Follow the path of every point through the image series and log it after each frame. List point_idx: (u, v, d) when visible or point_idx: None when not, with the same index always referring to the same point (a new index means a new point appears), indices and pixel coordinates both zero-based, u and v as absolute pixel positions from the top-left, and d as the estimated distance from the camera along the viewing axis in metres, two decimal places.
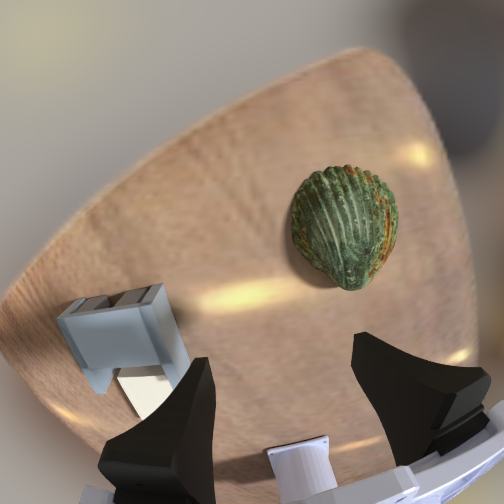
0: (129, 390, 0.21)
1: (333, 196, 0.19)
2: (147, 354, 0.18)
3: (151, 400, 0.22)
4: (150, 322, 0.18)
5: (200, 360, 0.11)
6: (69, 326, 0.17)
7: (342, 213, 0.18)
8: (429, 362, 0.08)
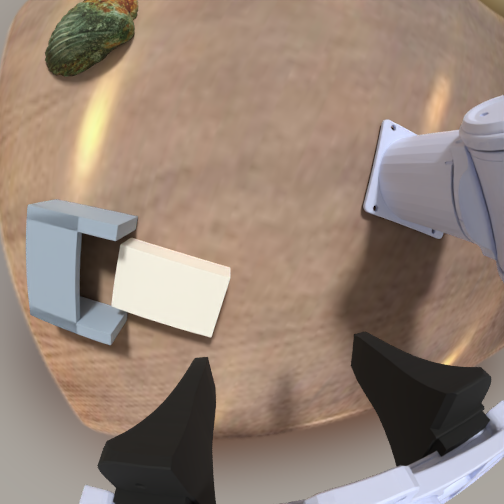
0: (132, 306, 0.19)
1: (51, 42, 0.12)
2: (64, 239, 0.15)
3: (153, 291, 0.18)
4: (38, 214, 0.14)
5: (200, 360, 0.11)
6: (35, 305, 0.16)
7: (56, 35, 0.12)
8: (429, 362, 0.08)
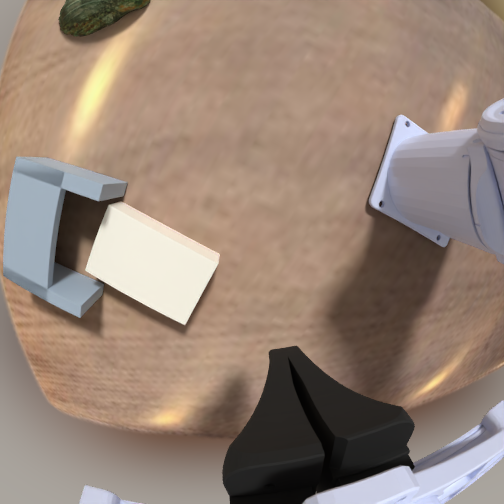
0: (107, 274, 0.16)
1: (68, 1, 0.10)
2: (46, 195, 0.13)
3: (132, 262, 0.16)
4: (25, 167, 0.12)
5: (278, 351, 0.12)
6: (9, 265, 0.14)
7: None
8: (347, 390, 0.08)
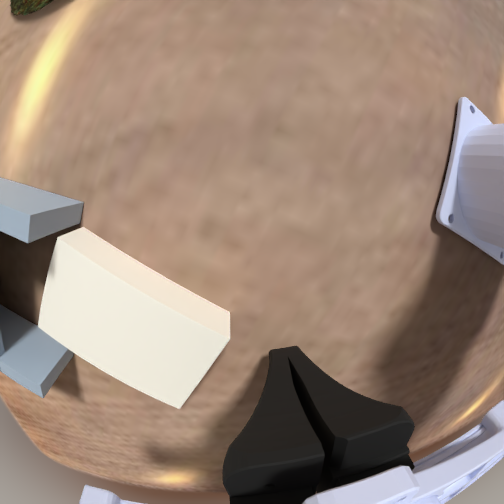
0: (65, 337, 0.10)
1: None
2: None
3: (98, 326, 0.10)
4: None
5: (278, 351, 0.12)
6: None
7: None
8: (347, 390, 0.08)
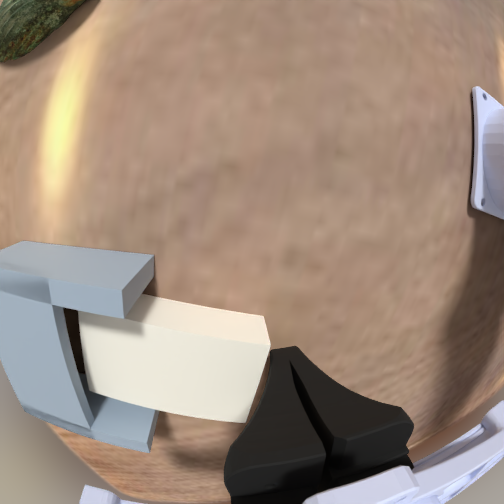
0: (118, 392, 0.11)
1: None
2: (35, 317, 0.08)
3: (144, 372, 0.10)
4: None
5: (279, 351, 0.12)
6: (27, 402, 0.09)
7: (0, 8, 0.04)
8: (346, 390, 0.08)
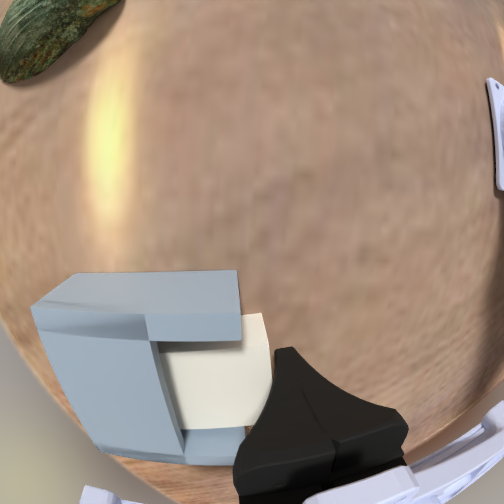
0: None
1: None
2: (125, 356, 0.08)
3: None
4: (56, 321, 0.08)
5: (284, 350, 0.12)
6: (104, 442, 0.10)
7: (4, 25, 0.05)
8: (341, 391, 0.08)
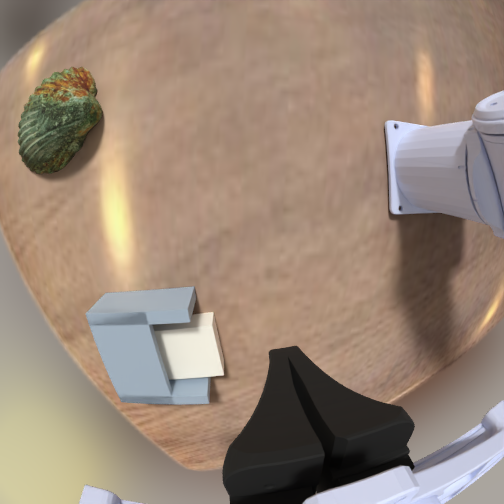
0: None
1: (21, 143, 0.15)
2: (137, 333, 0.18)
3: None
4: (101, 319, 0.17)
5: (278, 351, 0.12)
6: (124, 393, 0.19)
7: (24, 137, 0.14)
8: (347, 390, 0.08)
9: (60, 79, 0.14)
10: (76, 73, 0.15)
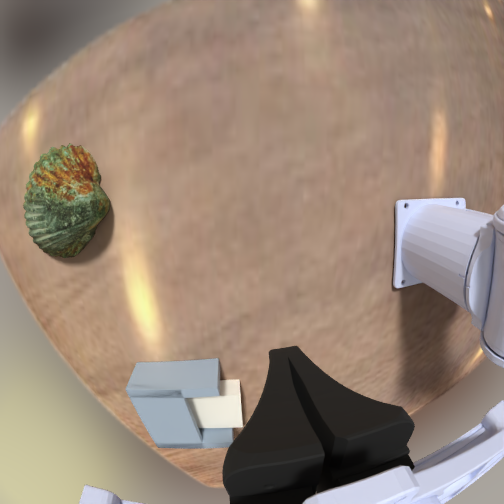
0: None
1: (31, 230, 0.17)
2: (173, 403, 0.20)
3: None
4: (140, 393, 0.19)
5: (278, 351, 0.12)
6: (161, 441, 0.21)
7: (33, 228, 0.16)
8: (347, 390, 0.08)
9: (60, 168, 0.16)
10: (76, 157, 0.17)
